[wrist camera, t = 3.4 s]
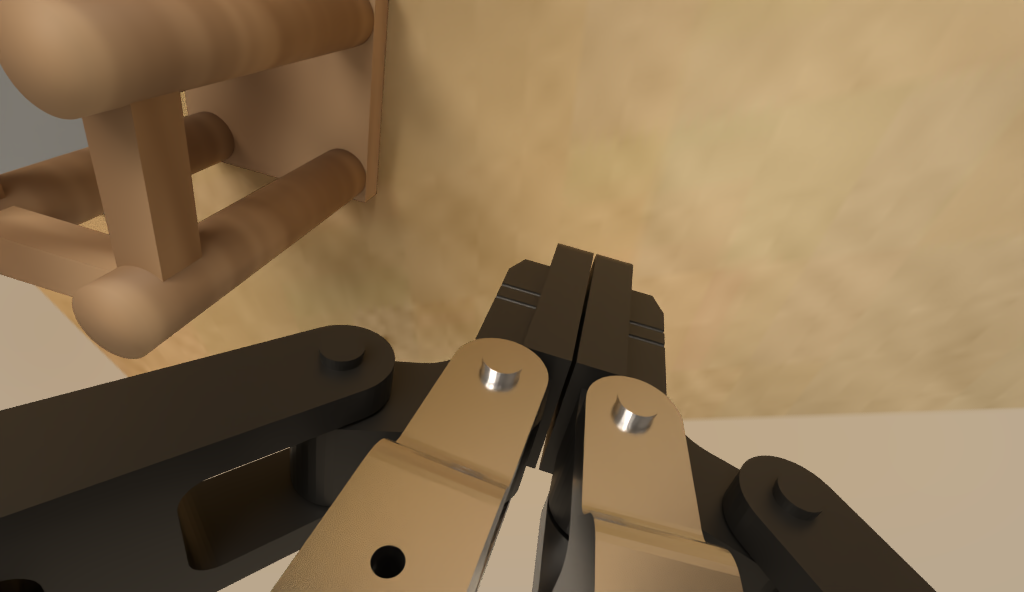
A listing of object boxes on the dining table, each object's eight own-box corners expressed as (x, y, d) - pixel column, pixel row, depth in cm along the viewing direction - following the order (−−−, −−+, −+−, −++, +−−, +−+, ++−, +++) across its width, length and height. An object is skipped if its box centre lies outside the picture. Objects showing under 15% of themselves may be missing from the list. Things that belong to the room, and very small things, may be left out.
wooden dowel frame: (389, -12, 17) (81, 10, 8) (376, 193, 21) (157, 368, 12) (188, -62, 18) (-316, -95, 9) (211, 146, 22) (-121, 278, 12)
